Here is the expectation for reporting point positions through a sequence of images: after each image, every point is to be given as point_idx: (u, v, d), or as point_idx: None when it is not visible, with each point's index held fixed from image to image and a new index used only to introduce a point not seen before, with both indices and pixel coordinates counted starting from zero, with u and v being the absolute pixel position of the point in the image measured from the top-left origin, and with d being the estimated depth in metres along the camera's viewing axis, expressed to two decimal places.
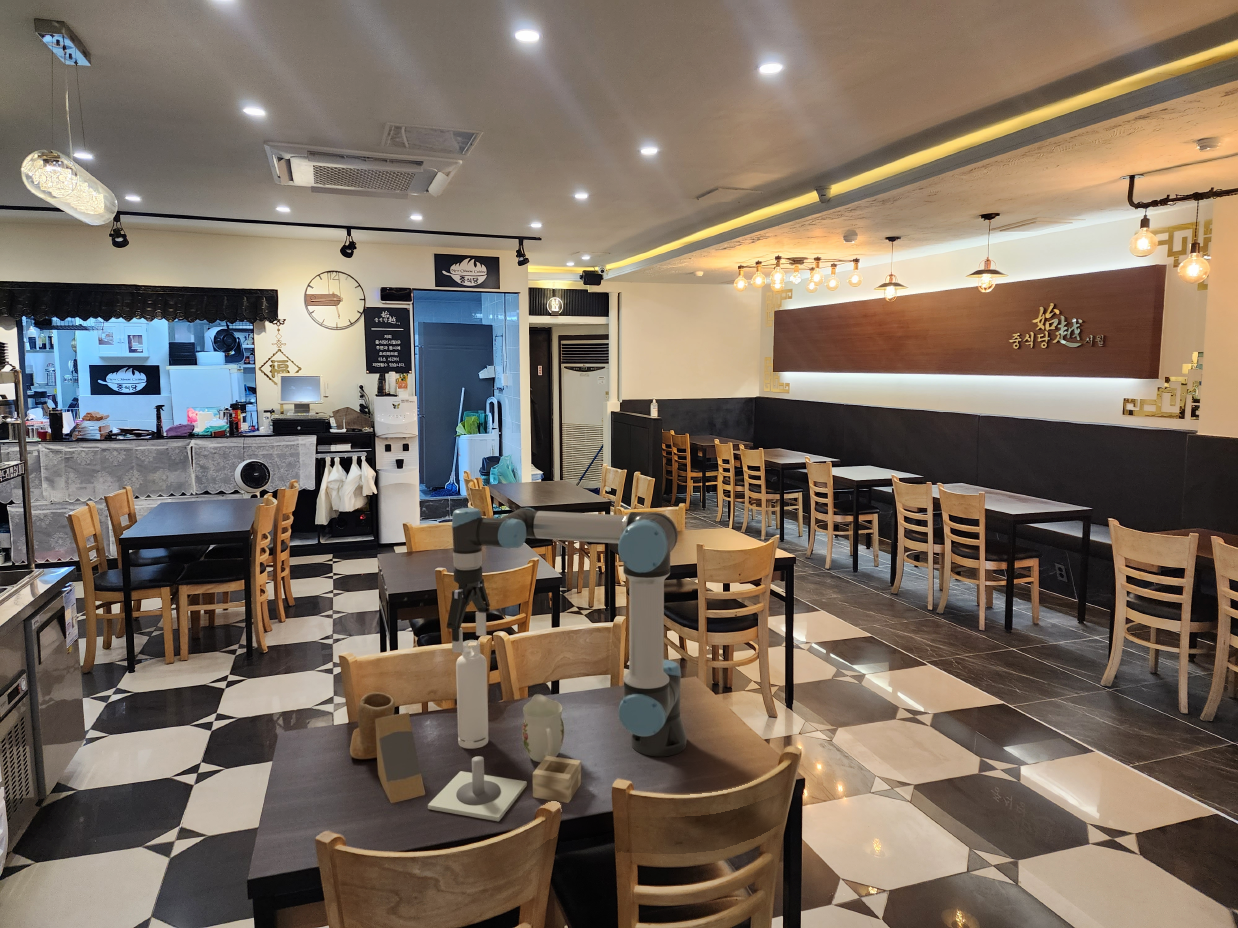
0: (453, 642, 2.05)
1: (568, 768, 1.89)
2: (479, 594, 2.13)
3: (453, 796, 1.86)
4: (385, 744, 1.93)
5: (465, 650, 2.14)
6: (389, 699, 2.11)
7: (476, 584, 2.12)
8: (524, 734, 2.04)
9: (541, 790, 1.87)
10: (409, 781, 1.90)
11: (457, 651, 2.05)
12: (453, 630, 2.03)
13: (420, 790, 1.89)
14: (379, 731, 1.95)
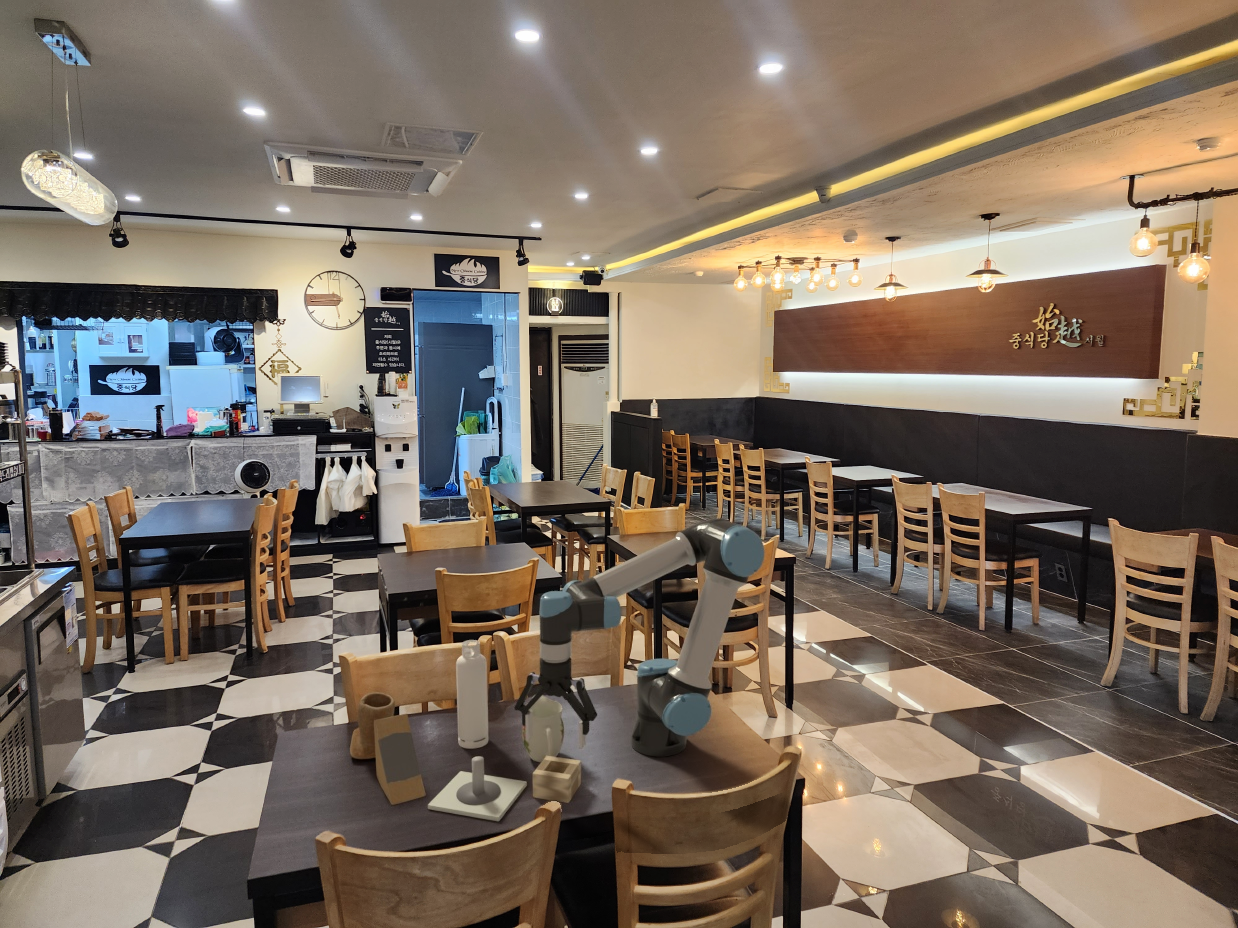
0: None
1: (568, 768, 1.89)
2: (564, 695, 1.85)
3: (453, 796, 1.86)
4: (384, 745, 1.93)
5: (465, 650, 2.14)
6: (389, 699, 2.11)
7: (564, 682, 1.86)
8: (524, 734, 2.04)
9: (541, 790, 1.87)
10: (409, 783, 1.89)
11: None
12: None
13: (420, 791, 1.89)
14: (378, 733, 1.94)
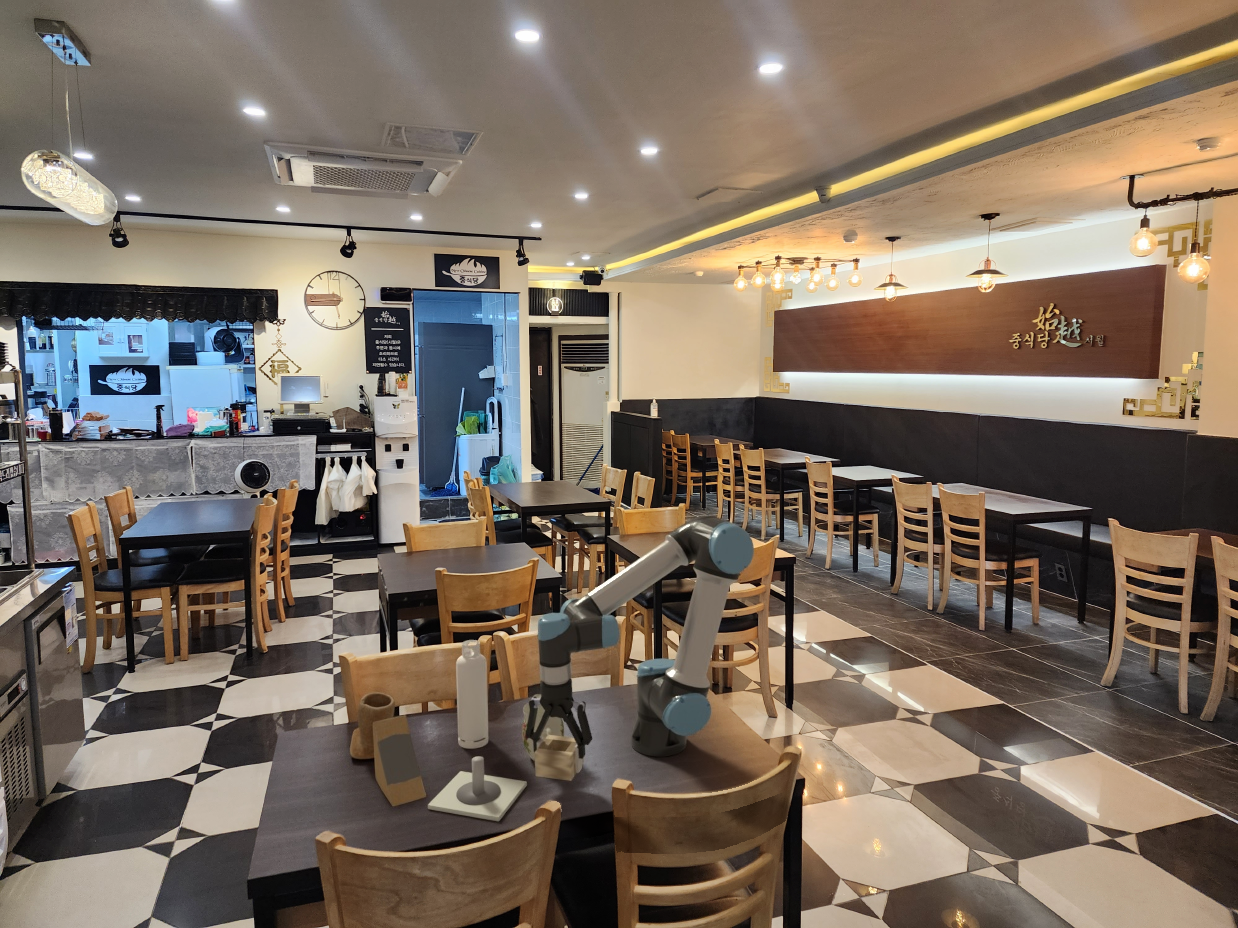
0: None
1: (570, 746, 1.89)
2: (564, 717, 1.86)
3: (453, 796, 1.86)
4: (384, 747, 1.92)
5: (465, 650, 2.14)
6: (389, 699, 2.11)
7: (565, 703, 1.86)
8: (524, 734, 2.04)
9: (543, 769, 1.87)
10: (409, 784, 1.88)
11: None
12: None
13: (421, 792, 1.88)
14: (377, 734, 1.93)
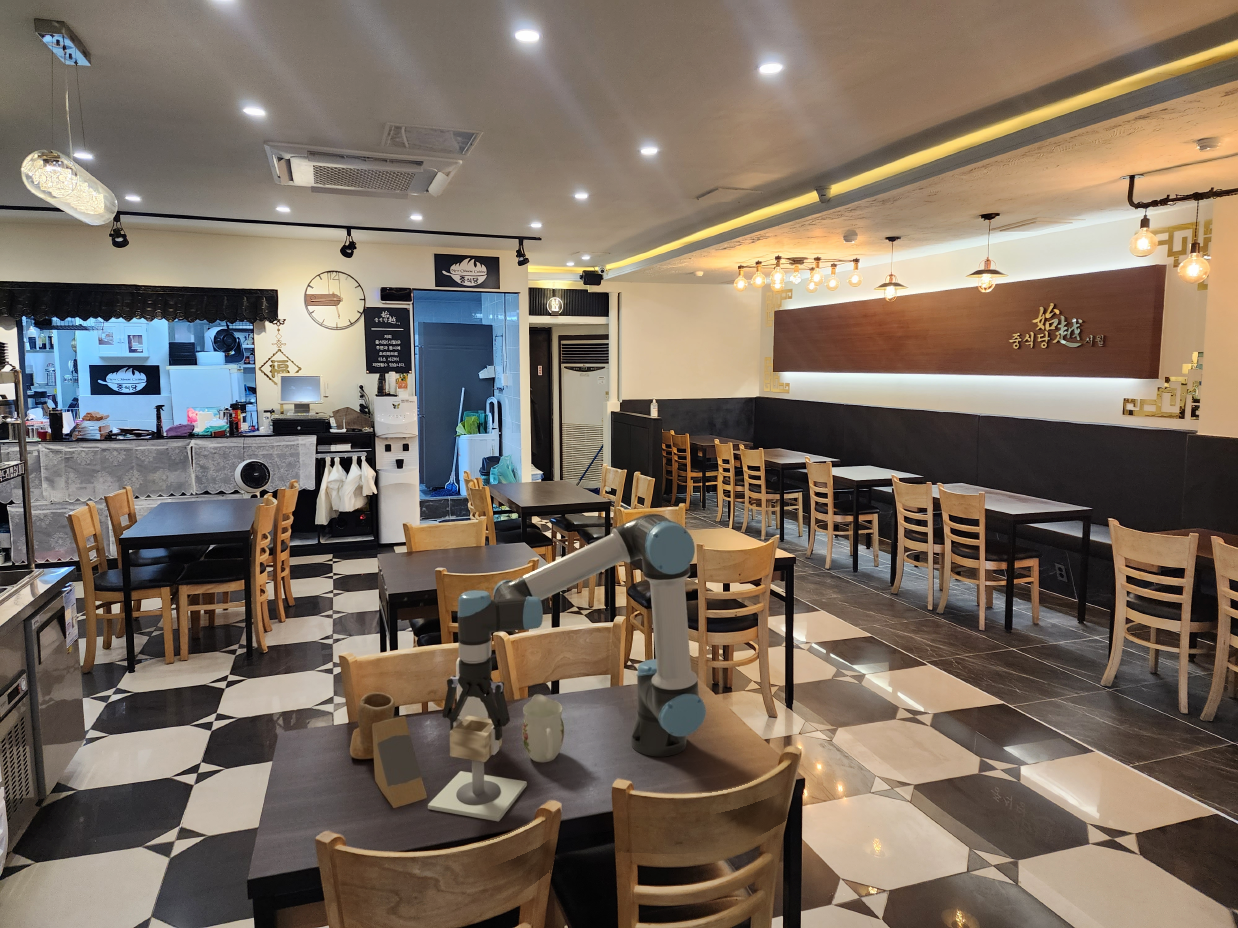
0: None
1: (487, 727, 1.85)
2: (482, 697, 1.83)
3: (453, 796, 1.86)
4: (384, 749, 1.91)
5: None
6: (389, 699, 2.11)
7: (483, 682, 1.83)
8: (524, 734, 2.04)
9: (458, 749, 1.83)
10: (410, 785, 1.88)
11: None
12: None
13: (422, 793, 1.88)
14: (377, 736, 1.92)
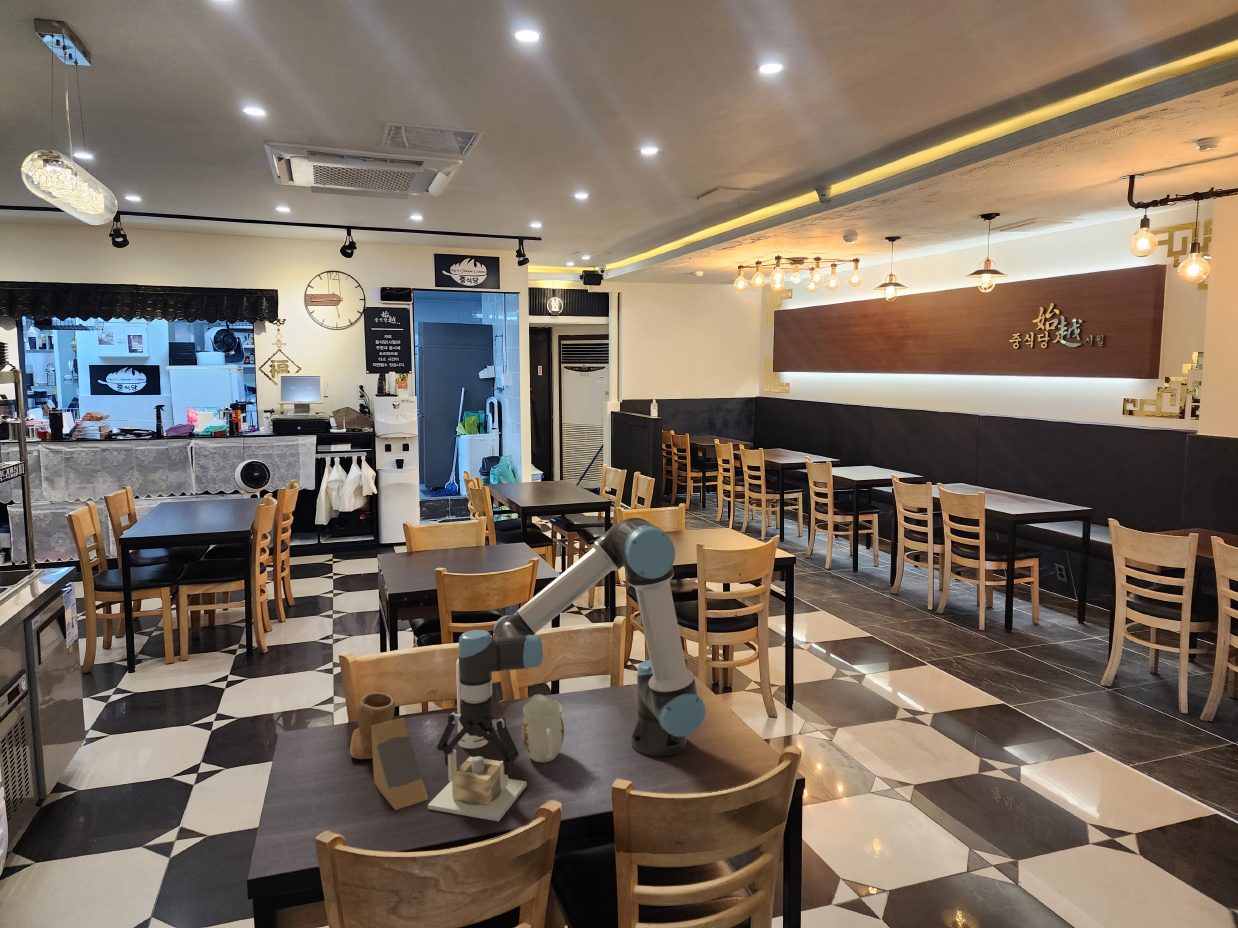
0: None
1: (489, 769, 1.86)
2: (485, 735, 1.84)
3: None
4: (383, 751, 1.90)
5: None
6: (389, 699, 2.11)
7: (484, 722, 1.84)
8: (524, 734, 2.04)
9: (460, 792, 1.84)
10: (411, 787, 1.87)
11: None
12: None
13: (423, 795, 1.87)
14: (376, 738, 1.91)
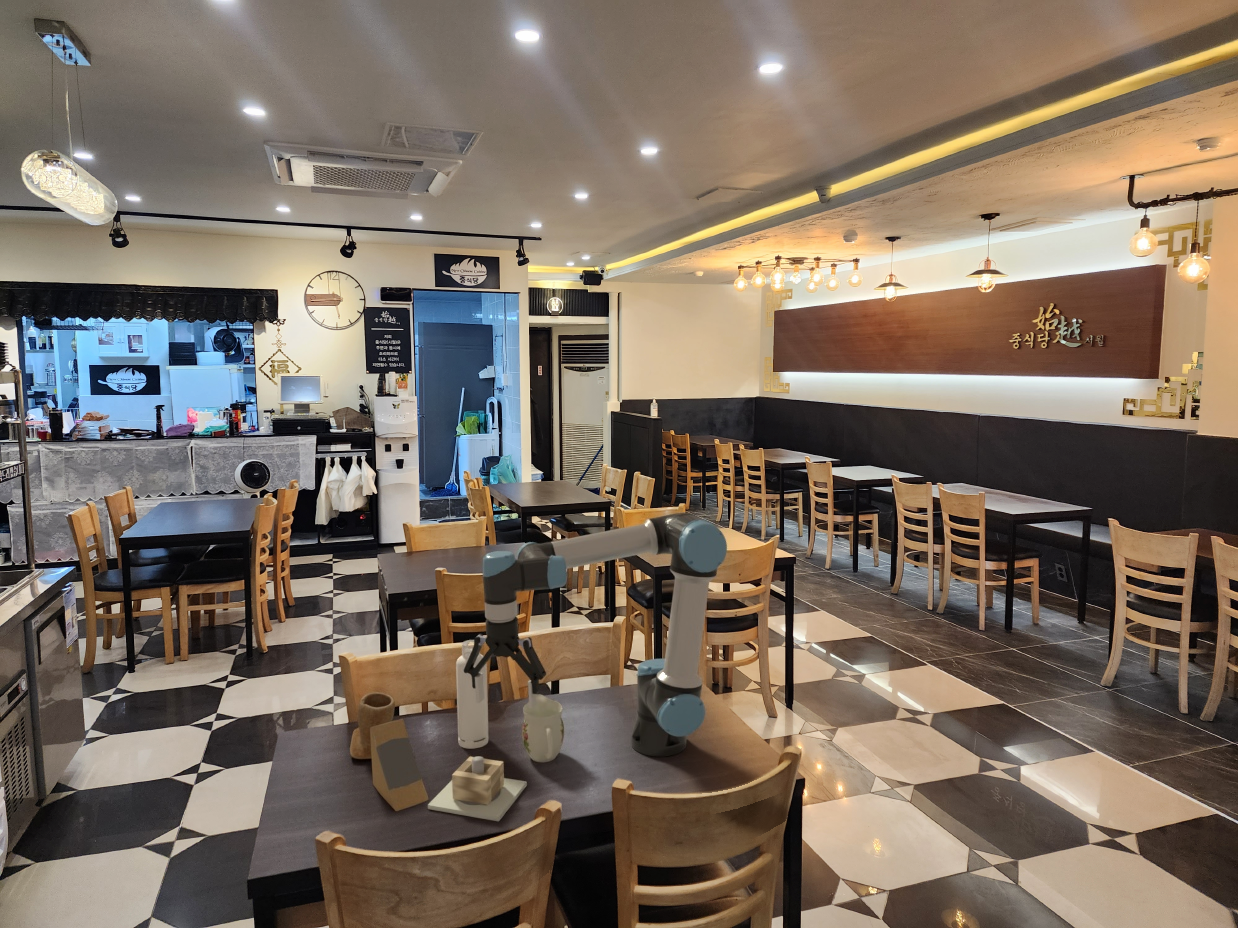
0: None
1: (489, 769, 1.86)
2: (512, 655, 1.84)
3: None
4: (383, 752, 1.89)
5: (465, 650, 2.14)
6: (389, 699, 2.11)
7: (510, 642, 1.84)
8: (524, 734, 2.04)
9: (460, 792, 1.84)
10: (411, 788, 1.87)
11: None
12: None
13: (423, 796, 1.87)
14: (375, 739, 1.91)
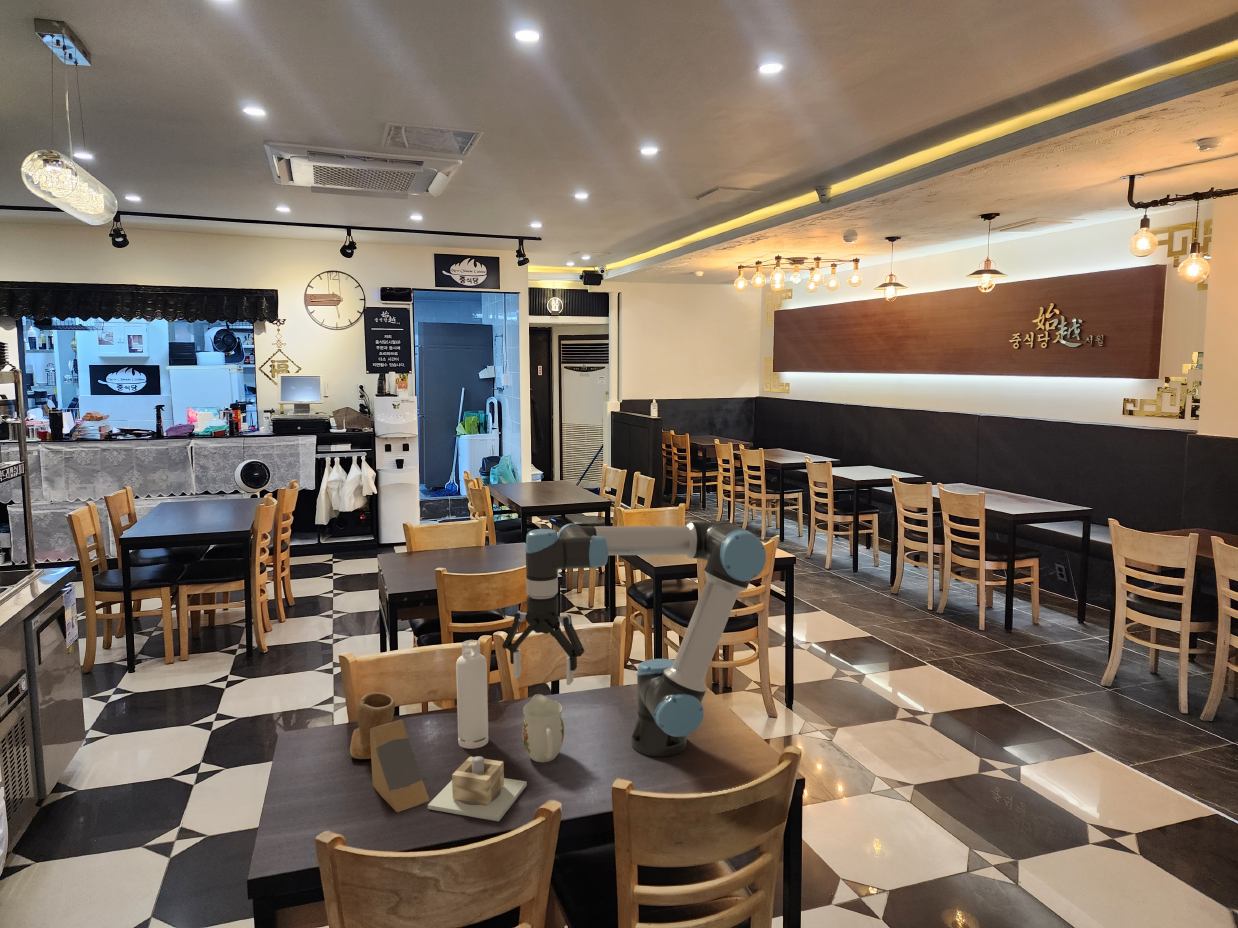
0: None
1: (489, 769, 1.86)
2: (551, 631, 1.87)
3: None
4: (383, 753, 1.89)
5: (465, 650, 2.14)
6: (389, 699, 2.11)
7: (550, 619, 1.87)
8: (524, 734, 2.04)
9: (460, 792, 1.84)
10: (412, 789, 1.86)
11: None
12: None
13: (424, 796, 1.87)
14: (375, 741, 1.90)
